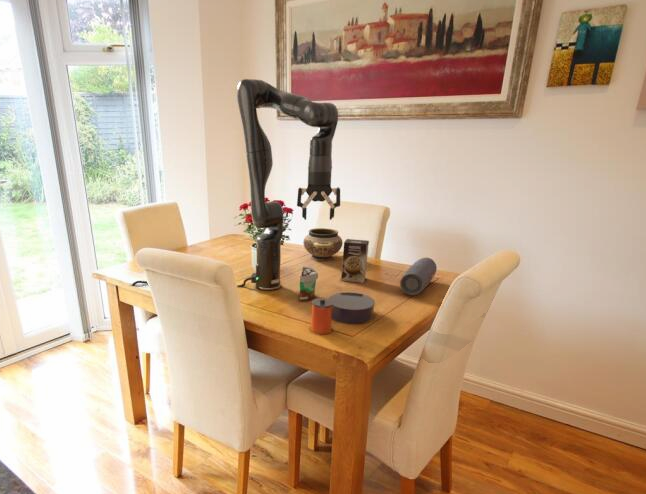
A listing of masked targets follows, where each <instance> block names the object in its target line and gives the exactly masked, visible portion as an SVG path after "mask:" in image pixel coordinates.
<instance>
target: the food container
mask: <svg viewBox="0 0 646 494" xmlns="http://www.w3.org/2000/svg"><path fill="white" fill-rule="evenodd" d="M300 274H301V275H300V276H299V302H308V301H313V300H314V299H315V292H316V284H317V279H319V274H318V270H317V269H316V268H313V267H309V266H302V271H301V273H300Z"/></svg>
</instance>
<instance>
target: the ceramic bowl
mask: <svg viewBox="0 0 646 494" xmlns="http://www.w3.org/2000/svg"><path fill="white" fill-rule="evenodd" d="M343 245H344V241H343V239H342V237H341V236H340V235H339V231H338V230H336V229H333V228H325V227H324V228H323V227H321V228H320V227H319V228H317V227H316V228H311V229H309V230H308V234H306V235H305V237H304V238H303V246H304V249H305V250H306V251H307V253H309V254H310V255H311V259H313V260H316V261H322V262H323V261H330V260H332V259H333V256H334V255H336V254H337V253H338V252H340V251H341V249H342V247H343Z"/></svg>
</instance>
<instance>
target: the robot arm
mask: <svg viewBox="0 0 646 494" xmlns="http://www.w3.org/2000/svg"><path fill="white" fill-rule="evenodd" d="M236 100H237V105H238V109H239V115H240V120H241V125H242V130H243V137H244V144H245V154H246V163H247V170H248V178H249V191H250V213H251V214H250V215H251V220H252V223H253V225H254V227H256V229H259V230H260V229H261V230H262V229H264V231H263V232H261V233H260V234H259V235H258V236H257V237H256V265H255V272H252V274H251V276H250V277H246V278H245V279H244V280H243V282H242V284H239V285H237V286H238V287H237V288H243V287H244V286H246V283H247V282H248V281H250V283H251V284H255V289H258V290H262V291H274V290H275V291H276V290H278V289H280V288H281V245H282V244H281V242H282V238H283V232H284V209H283V206H282V205H281V204H280V202H279V201H267V202H266V185H267V183H268V180H269V177H270V175H271V173H272V170H273V166H274V165H273V163H274V160H273V152H272V145H271V142H270V140H269V138H268V136H267V134H266V132H265V131H264V129H263V128H262V126H261V123H260V121H259V116H258V110H257V109H264V108H266V109H274V110H277V111H279V112H280V113H281V114H282V115H284V116H286V117H288V118H292V119H295V120H297V121H300V122H301V123H303V124H304V125H307V126H309V127H312V128H318V130H317V133H316V134H315V135H313V136H312V137H310V140H309V158H308V164H307V165H308V166H307V187H306V188H304V187H298V189H297V199H296V200H297V201H296V206H297V207H299V208H301V209H302V210H301V211H302V212H301V217H302V219H304V220H305V221H306V220H307V209H308V208H307V207H308V206H309V204H310V203H311V202H322V203H323V202H326V203H327V205H329V207H330V208H329V221H330V220H333V218H334V217H335V209H336V208H337V207H338V208H339V207H340V206H341V188H340V187H338V186H337V187H334V188H332V169H333V158H332V157H333V156H332V154H333V153H332V152H333V139H334V137H335V135H336V130H337V126H338V123H339V111H338V110H339V109H338V108H337V106H336V105H335V104H334V103H332V102H317V101H312V100H311V99H310V98H308V97H306V96H302V95H299V94H296V93H292V92H288V91H284V90H281V89H279V88H277V87H275V86H273V85H272V84H270V83H268V82H266V81H264V80H262V79H255V78H254V79H253V78H244V79H242V80H240V81H239V83H238V85H237V87H236ZM305 193H306V194H307V195H308V197H307V198H306V200H305V201H304V202H302V196H303V195H305ZM332 193H333V195H334V196H335V202H333V201H332V199H331V198H330V195H331V194H332ZM137 284H147V285H149V284H148V283H147V280H145V281H144V280H136V281H133V283H132V284H131V286H135V285H137ZM135 359H139V356H138V355H135Z"/></svg>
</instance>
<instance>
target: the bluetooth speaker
mask: <svg viewBox="0 0 646 494" xmlns="http://www.w3.org/2000/svg"><path fill="white" fill-rule="evenodd" d="M437 267H438V266H437V263H436V262H435V261H434V259H432V258H430V257H422V258H420V259H417V260H416V261H415V262H413V264H412V265H410V266H409V268H408V269H407V270H406V271H405V273H404V274H403V275H402V276H401V279H400V282H399V285H400V286H399V287H400V289H401V290H402V292H403V293H404V294H407V295H410V296H416V295H418V294H420V293H421V292H423V291H424V290H425V289H426V288H427V286H428V285H429V284H430V283H431V281H432V280H433V278H434V277H435V275H436V272H437Z"/></svg>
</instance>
